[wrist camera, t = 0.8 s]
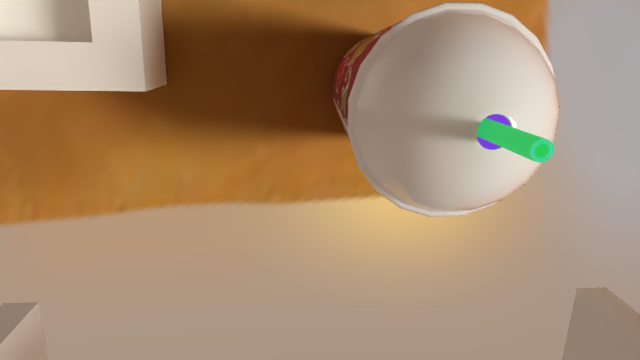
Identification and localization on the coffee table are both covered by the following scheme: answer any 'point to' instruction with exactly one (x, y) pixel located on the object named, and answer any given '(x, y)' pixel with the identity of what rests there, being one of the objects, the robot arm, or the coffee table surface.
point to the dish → (82, 45)
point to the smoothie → (448, 108)
